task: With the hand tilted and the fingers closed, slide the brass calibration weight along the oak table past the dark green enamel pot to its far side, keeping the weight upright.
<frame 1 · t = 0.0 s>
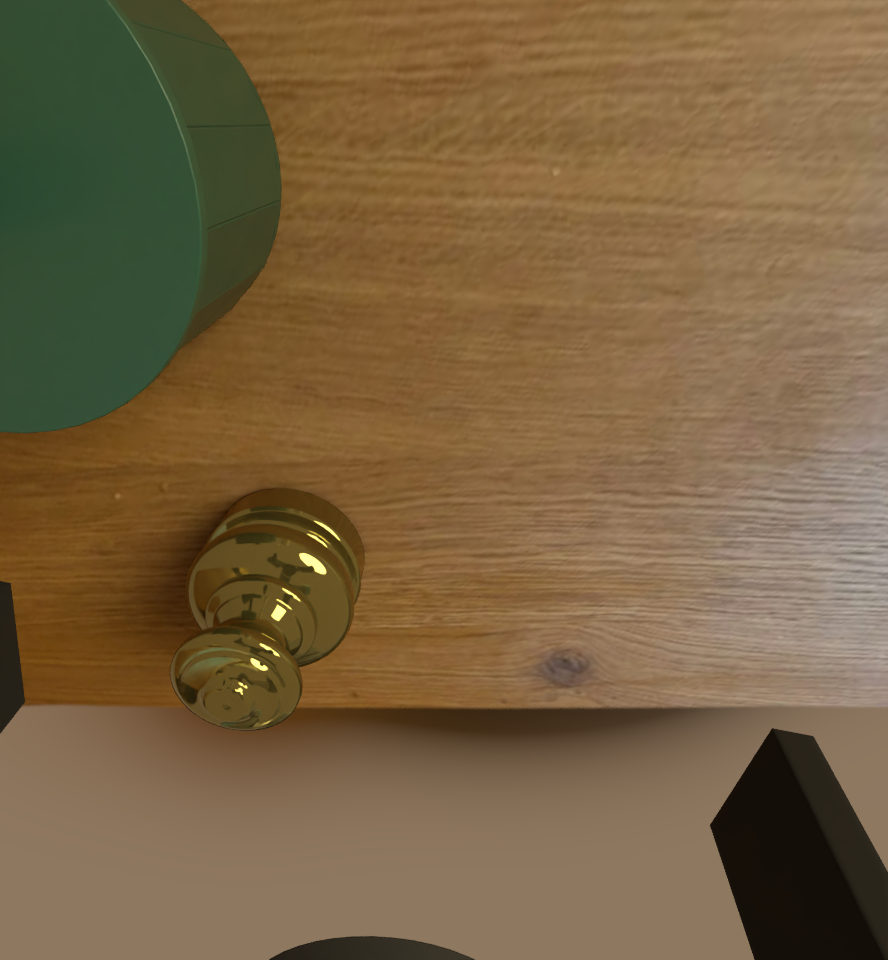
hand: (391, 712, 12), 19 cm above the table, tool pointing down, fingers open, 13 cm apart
brass calibration weight: (293, 547, 33), on the table
pot: (117, 169, 25), on the table
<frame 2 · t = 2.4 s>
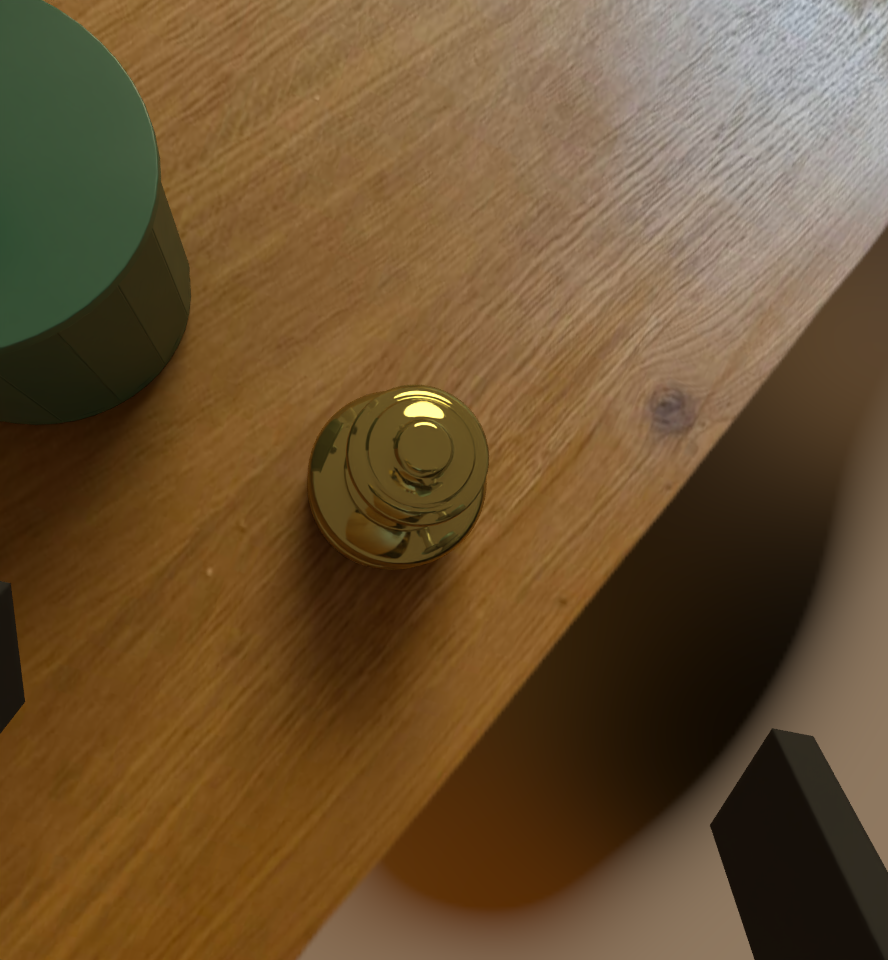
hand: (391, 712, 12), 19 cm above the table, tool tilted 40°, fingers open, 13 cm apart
brass calibration weight: (386, 492, 32), on the table
pot: (43, 289, 30), on the table
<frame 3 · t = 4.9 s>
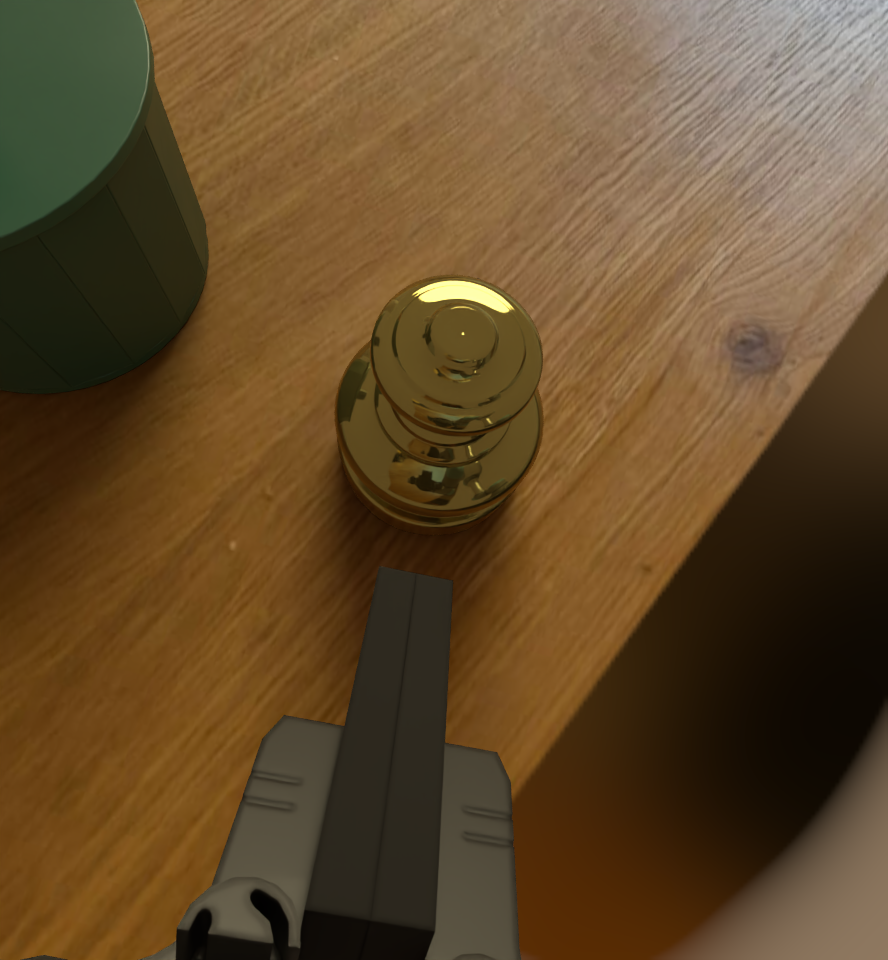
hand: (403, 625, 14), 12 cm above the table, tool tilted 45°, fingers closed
brass calibration weight: (430, 451, 28), on the table
pot: (56, 257, 28), on the table
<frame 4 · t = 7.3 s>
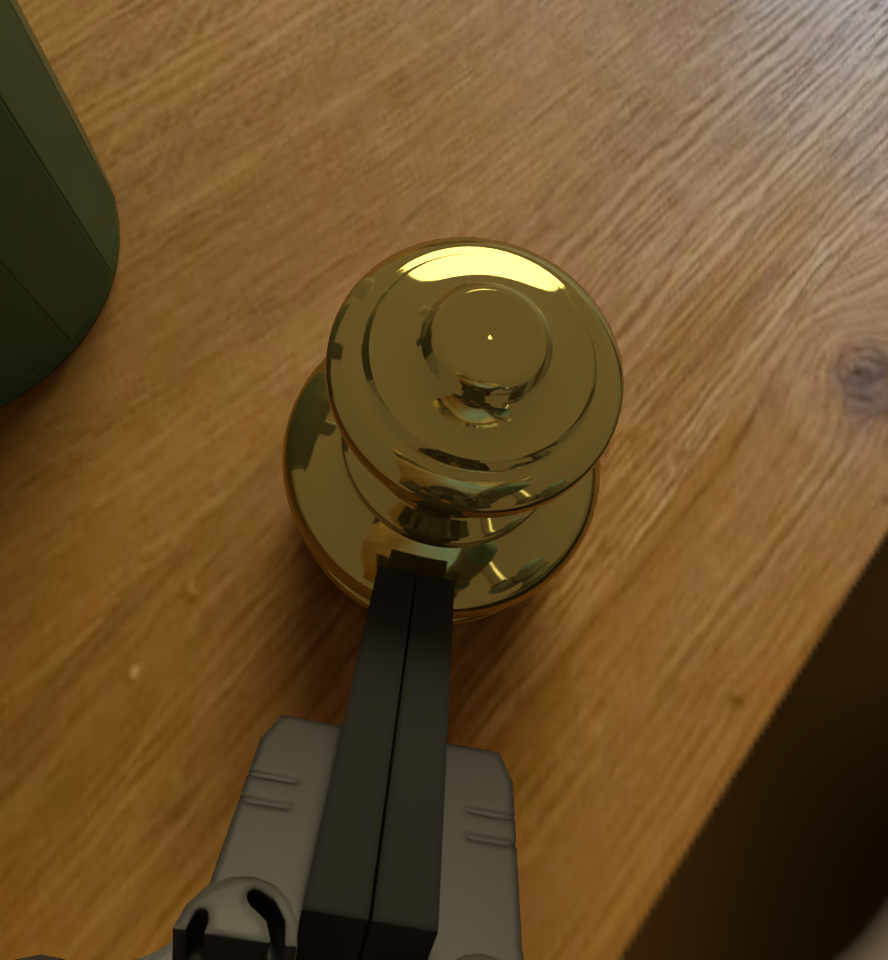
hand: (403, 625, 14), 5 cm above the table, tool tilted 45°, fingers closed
brass calibration weight: (428, 502, 20), on the table, touching gripper
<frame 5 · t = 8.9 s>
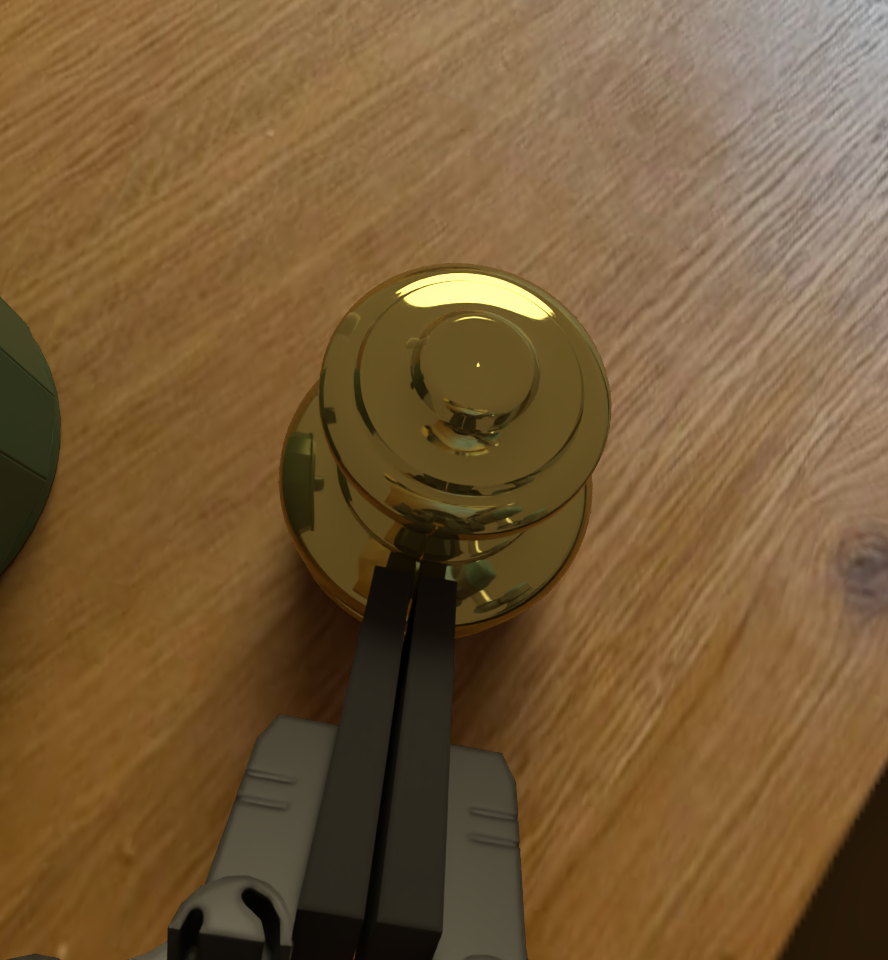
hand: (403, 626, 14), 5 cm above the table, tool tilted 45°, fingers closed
brass calibration weight: (424, 516, 20), on the table, touching gripper
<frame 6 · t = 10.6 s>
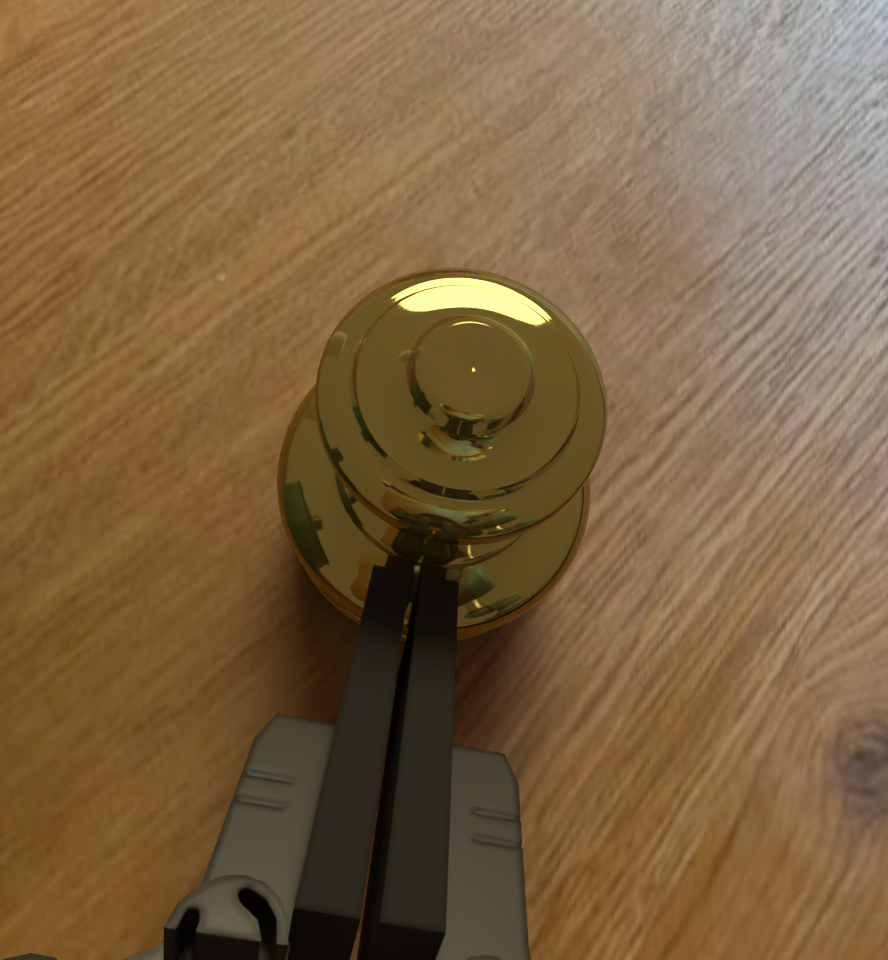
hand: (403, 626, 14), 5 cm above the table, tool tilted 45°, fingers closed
brass calibration weight: (423, 519, 20), on the table, touching gripper
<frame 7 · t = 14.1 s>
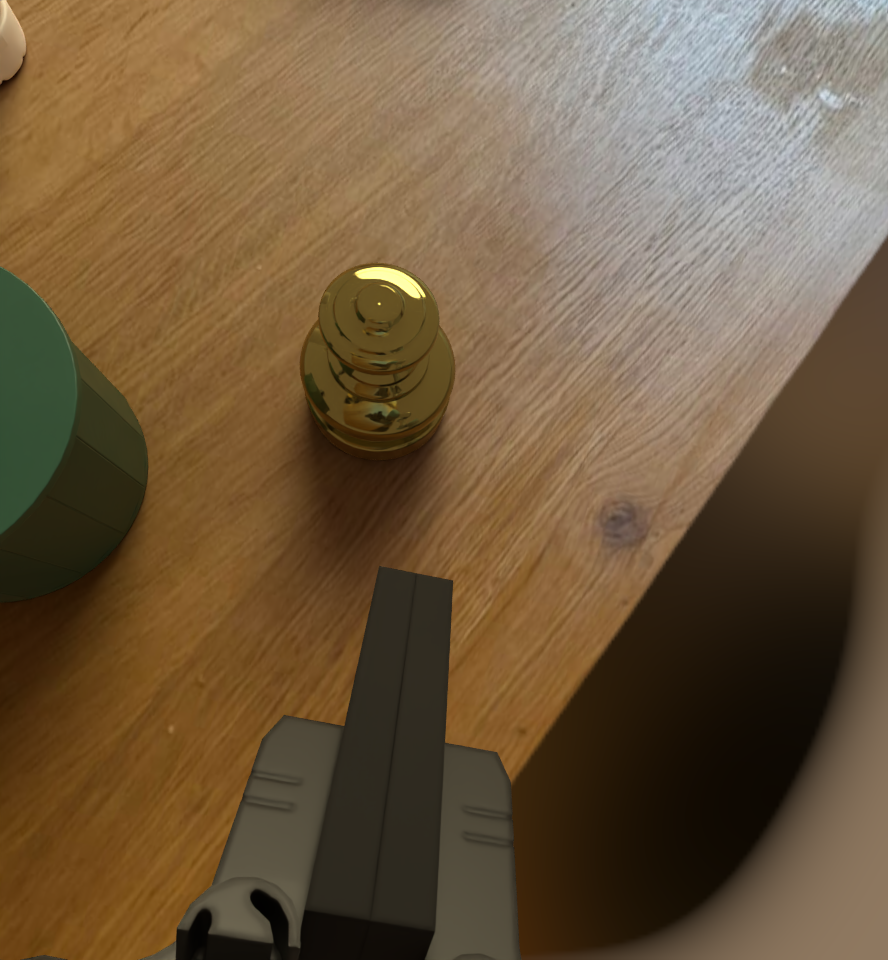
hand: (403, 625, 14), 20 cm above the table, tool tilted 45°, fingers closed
brass calibration weight: (377, 398, 36), on the table
pot: (17, 475, 33), on the table
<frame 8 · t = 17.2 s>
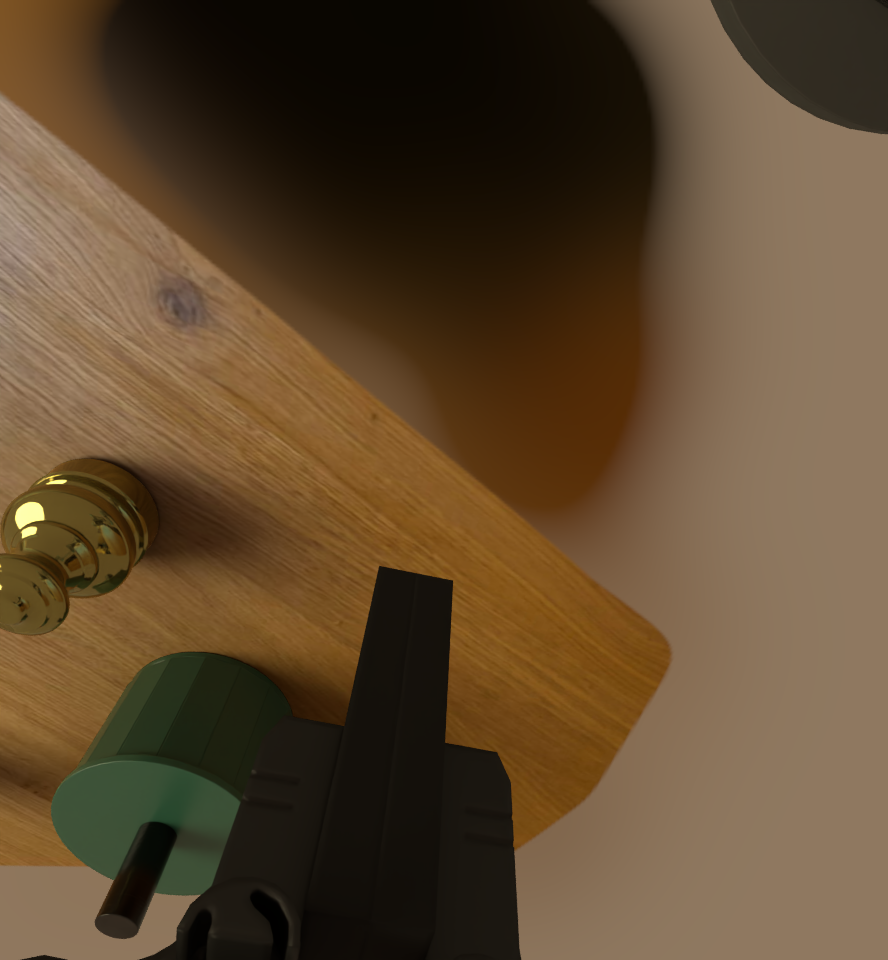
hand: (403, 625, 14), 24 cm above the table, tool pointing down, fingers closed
pot lid: (161, 826, 42), point 9 cm above the table, touching pot
brass calibration weight: (104, 506, 42), on the table
pot: (211, 714, 50), on the table
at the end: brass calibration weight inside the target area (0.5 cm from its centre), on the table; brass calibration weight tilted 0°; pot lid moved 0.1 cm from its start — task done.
